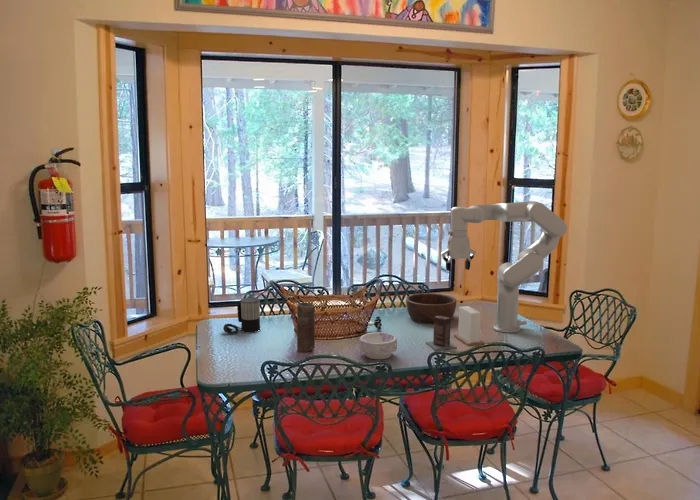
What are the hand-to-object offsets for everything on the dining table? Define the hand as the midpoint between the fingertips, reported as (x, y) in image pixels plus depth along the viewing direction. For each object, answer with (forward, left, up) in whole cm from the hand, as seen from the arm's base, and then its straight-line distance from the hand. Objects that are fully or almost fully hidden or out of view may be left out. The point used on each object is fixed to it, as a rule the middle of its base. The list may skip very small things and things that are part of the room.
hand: (457, 270), depth 280 cm
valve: (+42, -8, -29) cm, 51 cm away
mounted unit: (+3, +18, -28) cm, 34 cm away
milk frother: (+98, -22, -28) cm, 105 cm away
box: (+18, +22, -28) cm, 40 cm away
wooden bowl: (+5, -20, -29) cm, 35 cm away
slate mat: (+18, +22, -28) cm, 40 cm away
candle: (+75, +12, -28) cm, 81 cm away
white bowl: (+48, +27, -28) cm, 62 cm away
